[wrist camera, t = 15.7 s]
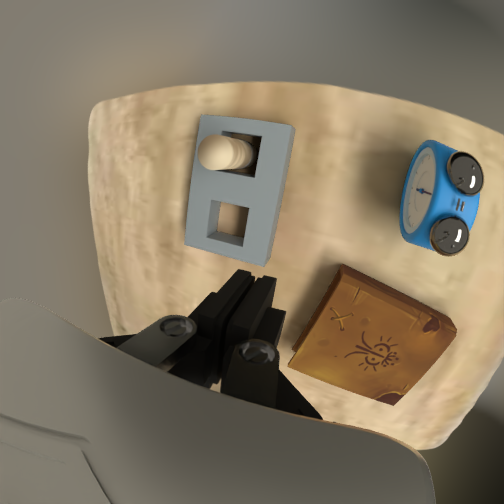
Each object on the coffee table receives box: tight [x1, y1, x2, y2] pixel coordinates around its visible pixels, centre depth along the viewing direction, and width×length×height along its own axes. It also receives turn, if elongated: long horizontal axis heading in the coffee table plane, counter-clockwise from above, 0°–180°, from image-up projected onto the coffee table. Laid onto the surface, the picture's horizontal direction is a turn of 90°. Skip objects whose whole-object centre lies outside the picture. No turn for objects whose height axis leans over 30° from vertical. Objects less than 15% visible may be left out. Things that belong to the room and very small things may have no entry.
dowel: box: [198, 134, 257, 170], centre depth 33 cm, size 4×4×12 cm
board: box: [184, 115, 296, 267], centre depth 39 cm, size 20×13×4 cm, turn 170°
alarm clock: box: [400, 140, 484, 257], centre depth 26 cm, size 13×6×15 cm, turn 170°
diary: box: [287, 264, 457, 406], centre depth 40 cm, size 23×19×6 cm
